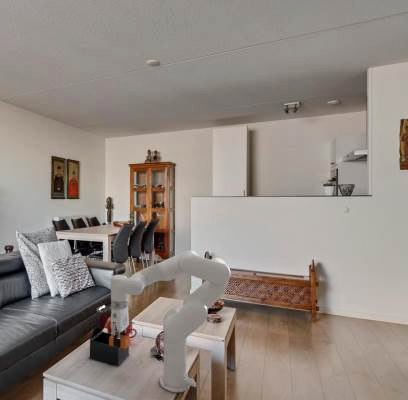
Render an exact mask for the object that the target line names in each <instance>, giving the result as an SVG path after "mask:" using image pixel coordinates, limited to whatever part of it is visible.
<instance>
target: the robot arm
mask: <svg viewBox="0 0 408 400" xmlns="http://www.w3.org/2000/svg"><path fill="white" fill-rule="evenodd" d="M231 273H232V272H231V269H230V267H229V266H228V264H227V262H226V261H225V260H224V259H222V258H220V257H213V258H206V257H203V256H202V255H201V256H200V255H199V254H198V253H197V252H196V251H195V250H192V249H188V250H184V251H182V252H180V253H178V254H175V255H173V256H171V257H169V258H166V259H165V260H162V261H160V262H158V263H156V264H152V265H150V266H147V267H146V268H143V269H140V270H138V271H137V272H134V273H132V275H131V276H130V277H128V276H126V275H124V274H115V275H112V276H111V277H110V306H111V308H112V311H111V313H110V321H111V330H112V331H111V335H112V336H113V346H114V347H118V348H120V338H119V337H120V335H125V336H126V328H127V327H128V326H129V323H130V315H129V314H130V313H129V302H128V301H129V297H128V296H129V295H131V296H139V295H140V294H142V293H143V292H144V289H145V288H146V287H148V286H149V285H152V284H154V283H156V282H162V281H163V282H169V281H172V280H174V279H176V278H178V277H181V276H183V275H186V274H187V275H189V276H192V277H195V278H198V279H201V280H203V281H204V282H202V284H201V285H199V287H197V288H196V289H195V290H194V291H193V292H191V293H190V294H189V295H188V296H186V298H184V300H183V303H182V308H180V309H179V308H170V309H168V310H167V312H165V315H164V318H163V326H162V332H163V343H164V358H163V367H162V368H163V370H162V371H163V373H162V375H161V376H160V378H159V385H160V386H161V387H162V388H163V389H165V390H166V391H168V392H172V393H184V392H187V391H189V389H190V387H193V388H197V382H196V381H195V380H196V379H195V378H190V377H189V373H188V372H187V347H188V344H187V343H188V341H187V339H188V337H189V336H191V335H192V334H193V333H194V332H196V331H197V330H198V329H199V328H200V327H201V326H202V325H204V323H205V322H206V320H207V319H208V310H209V309H210V308H211V307H212V306H213V305H214V304H215V303H217V301H218V300H220V299H221V298H222V296H223V295H224V293H225V292H226V290H227V288H228V285H229V280H230V278H231ZM116 329H117V330H116ZM115 332H118V335H117V334H116V333H115Z"/></svg>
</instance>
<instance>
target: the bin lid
mask: <svg viewBox="0 0 408 400" xmlns="http://www.w3.org/2000/svg"><path fill="white" fill-rule="evenodd" d="M111 311H112V308H111V305H109V306H108V307H106V305H105V304H102V305H100V306H99V307H97V308H96V312H98V313H100V314H99V316H98V319H97V321H96V323H95V325H94V328H93V330H92V332H91V335H90V337H89V341H90V340H92V339H93V338H94V337H96V336H97V335H98V334H99V333H101V332H104V329H105V326H107V323H108V320H109V317H111Z"/></svg>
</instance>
